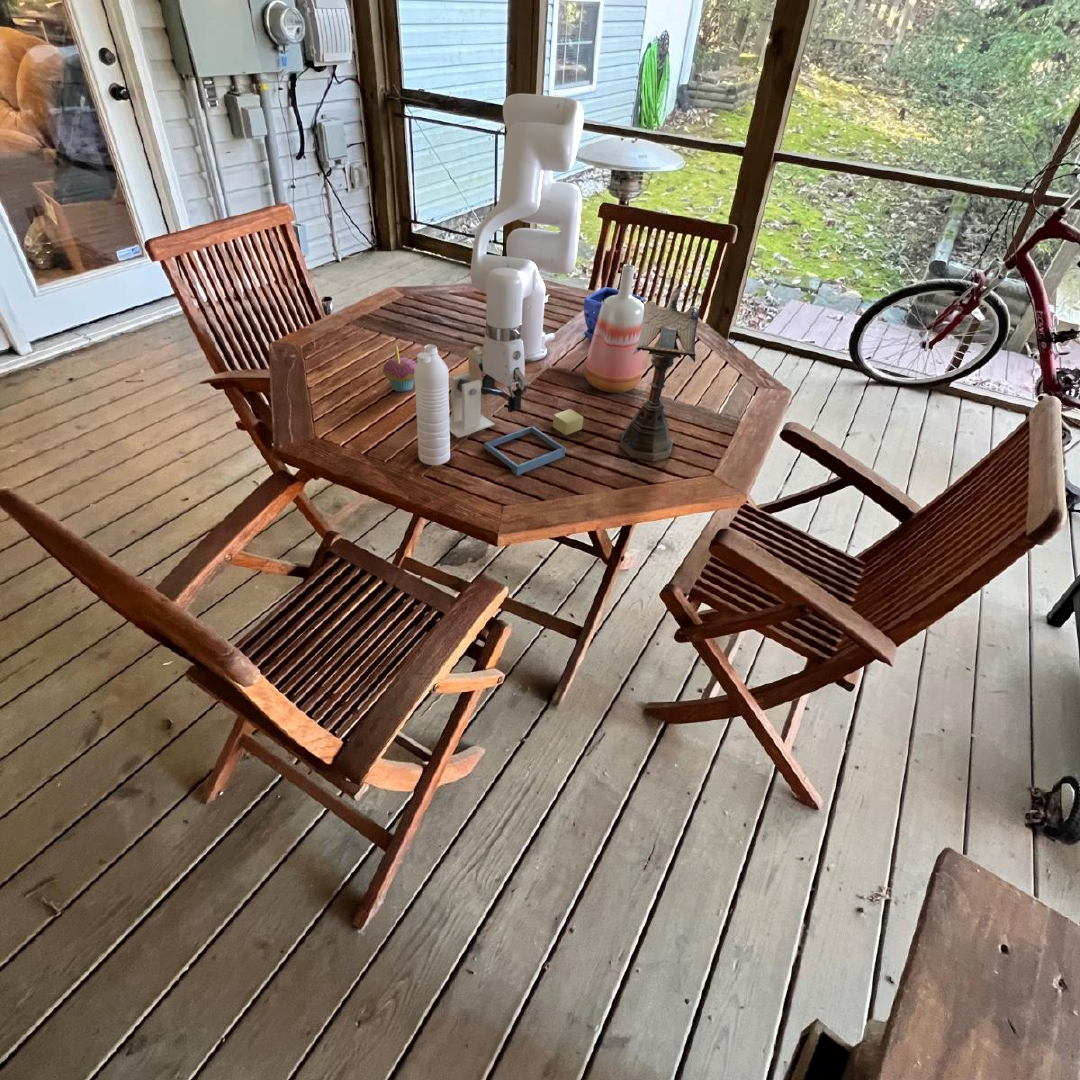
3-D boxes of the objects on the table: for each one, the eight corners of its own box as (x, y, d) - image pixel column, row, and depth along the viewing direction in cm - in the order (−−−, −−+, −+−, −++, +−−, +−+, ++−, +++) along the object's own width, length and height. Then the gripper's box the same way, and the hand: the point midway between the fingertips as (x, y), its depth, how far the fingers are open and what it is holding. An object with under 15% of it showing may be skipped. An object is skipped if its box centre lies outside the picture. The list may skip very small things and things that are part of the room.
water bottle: (424, 449, 146) (419, 336, 130) (453, 454, 145) (452, 341, 129) (411, 471, 139) (404, 355, 123) (442, 476, 138) (439, 360, 123)
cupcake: (412, 397, 163) (410, 350, 155) (378, 392, 164) (374, 344, 156) (424, 382, 169) (422, 335, 162) (391, 376, 170) (388, 330, 163)
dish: (531, 433, 154) (532, 425, 152) (564, 456, 147) (565, 447, 146) (484, 451, 147) (484, 442, 145) (516, 475, 140) (517, 467, 139)
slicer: (473, 413, 159) (474, 366, 151) (494, 428, 154) (496, 380, 147) (437, 425, 154) (435, 377, 146) (457, 441, 149) (457, 392, 142)
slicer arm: (496, 394, 158) (499, 384, 157) (509, 403, 155) (513, 393, 154) (452, 386, 148) (456, 375, 148) (466, 395, 146) (469, 385, 145)
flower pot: (640, 337, 199) (646, 297, 192) (619, 352, 190) (625, 310, 183) (600, 325, 204) (605, 285, 197) (578, 339, 195) (582, 298, 188)
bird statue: (675, 478, 144) (713, 315, 121) (613, 467, 145) (640, 304, 123) (681, 439, 156) (716, 285, 134) (624, 429, 158) (650, 275, 136)
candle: (494, 385, 170) (495, 347, 164) (484, 394, 167) (484, 355, 160) (475, 379, 172) (475, 341, 166) (464, 388, 168) (464, 350, 162)
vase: (650, 386, 176) (672, 268, 157) (615, 404, 167) (634, 281, 148) (606, 366, 183) (622, 251, 164) (571, 382, 174) (583, 263, 155)
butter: (568, 423, 158) (570, 408, 156) (581, 432, 156) (583, 416, 153) (552, 430, 156) (553, 414, 153) (565, 438, 153) (566, 423, 150)
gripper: (542, 340, 143) (537, 413, 154) (493, 312, 153) (491, 382, 164) (514, 349, 139) (511, 422, 150) (465, 319, 149) (465, 390, 160)
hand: (501, 401), depth 157 cm, fingers open, 9 cm apart
